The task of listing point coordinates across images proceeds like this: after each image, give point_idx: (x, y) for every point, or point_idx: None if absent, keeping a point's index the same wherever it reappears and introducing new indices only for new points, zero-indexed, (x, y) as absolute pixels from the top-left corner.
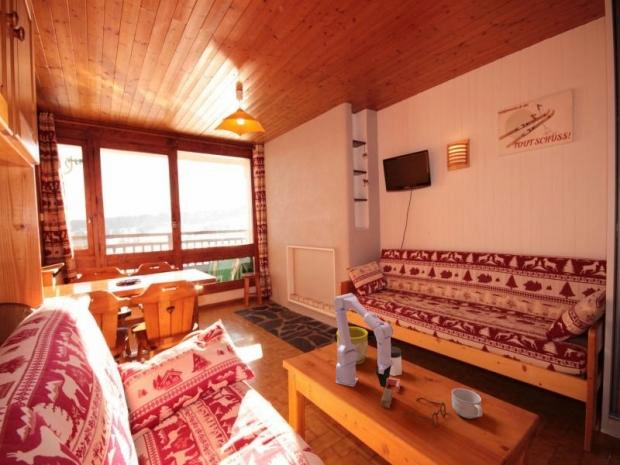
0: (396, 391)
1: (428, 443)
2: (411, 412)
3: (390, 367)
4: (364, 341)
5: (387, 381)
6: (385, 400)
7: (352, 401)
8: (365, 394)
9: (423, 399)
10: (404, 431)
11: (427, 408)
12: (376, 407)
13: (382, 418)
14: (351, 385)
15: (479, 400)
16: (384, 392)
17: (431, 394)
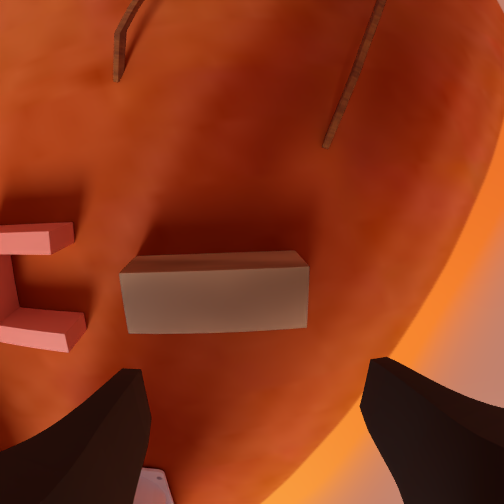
0: (70, 237)
1: (475, 40)
2: (354, 80)
3: (66, 482)
4: None
5: (19, 322)
6: (306, 295)
7: (295, 445)
8: (198, 415)
9: (133, 17)
10: (460, 137)
11: (192, 2)
12: (312, 330)
13: (404, 270)
14: (164, 479)
15: None
16: (193, 327)
17: (32, 21)
